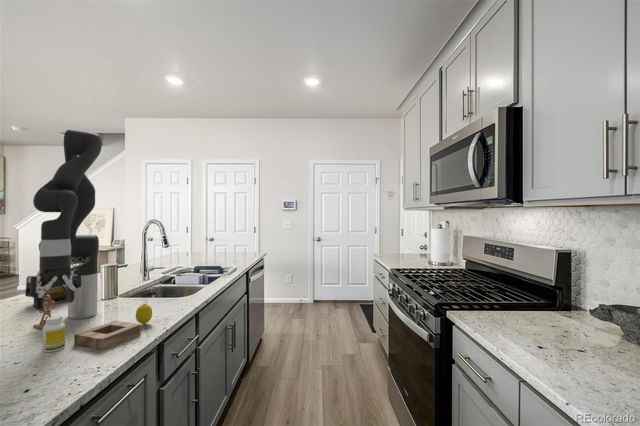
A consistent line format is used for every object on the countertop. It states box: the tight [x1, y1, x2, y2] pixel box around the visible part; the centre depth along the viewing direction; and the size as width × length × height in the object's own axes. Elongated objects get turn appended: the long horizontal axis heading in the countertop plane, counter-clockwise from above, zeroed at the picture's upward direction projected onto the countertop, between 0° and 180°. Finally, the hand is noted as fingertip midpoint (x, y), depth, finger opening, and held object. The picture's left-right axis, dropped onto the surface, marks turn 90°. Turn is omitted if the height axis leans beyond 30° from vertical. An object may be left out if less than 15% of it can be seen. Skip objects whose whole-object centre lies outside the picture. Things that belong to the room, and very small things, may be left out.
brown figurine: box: [32, 295, 56, 331], centre depth 116 cm, size 9×4×12 cm, turn 71°
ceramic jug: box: [35, 241, 70, 304], centre depth 149 cm, size 17×15×30 cm
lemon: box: [135, 303, 153, 326], centre depth 120 cm, size 6×6×8 cm
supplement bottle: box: [41, 315, 66, 353], centre depth 98 cm, size 5×5×10 cm
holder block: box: [73, 320, 142, 352], centre depth 106 cm, size 12×14×4 cm
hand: (54, 306), depth 98 cm, fingers open, 8 cm apart
